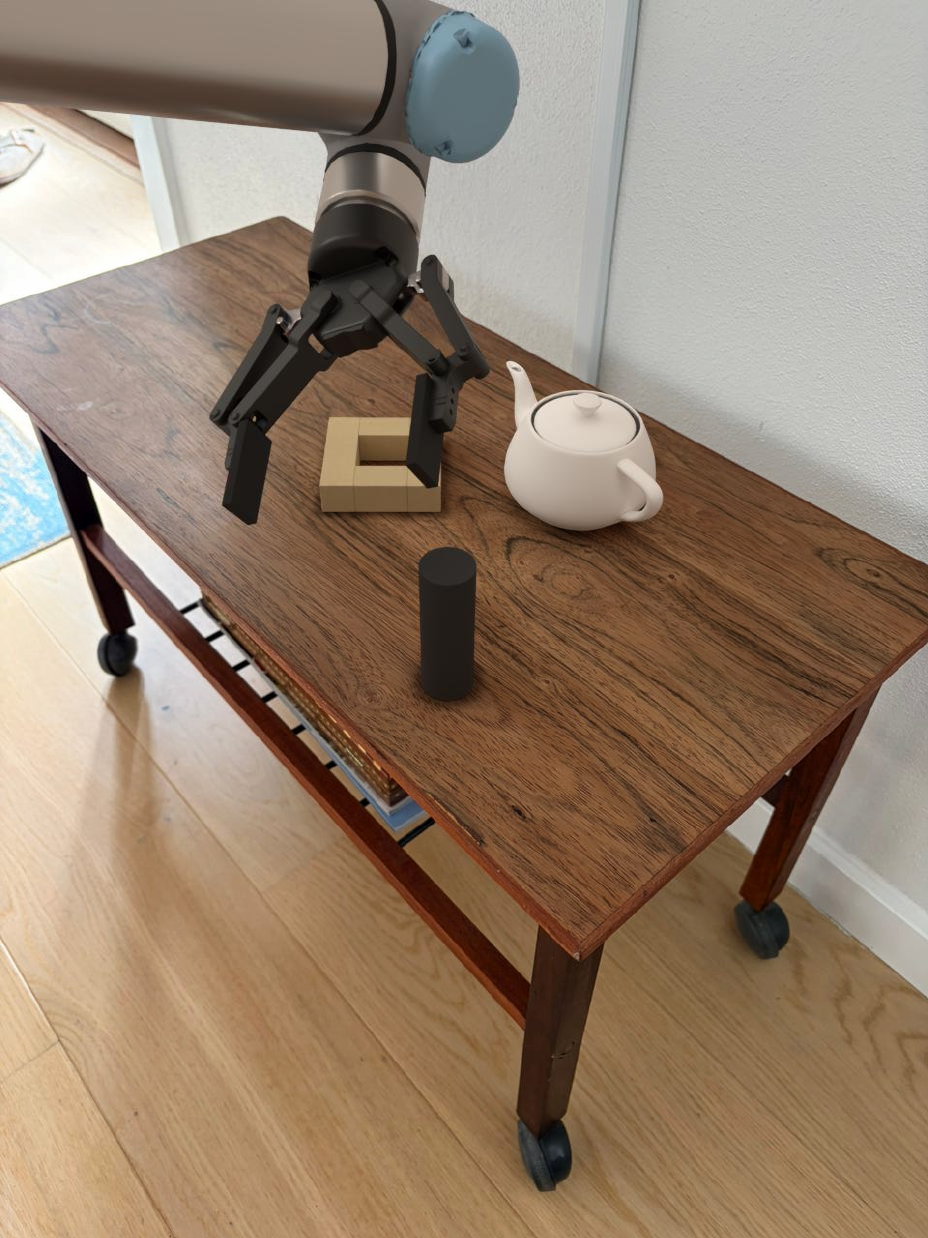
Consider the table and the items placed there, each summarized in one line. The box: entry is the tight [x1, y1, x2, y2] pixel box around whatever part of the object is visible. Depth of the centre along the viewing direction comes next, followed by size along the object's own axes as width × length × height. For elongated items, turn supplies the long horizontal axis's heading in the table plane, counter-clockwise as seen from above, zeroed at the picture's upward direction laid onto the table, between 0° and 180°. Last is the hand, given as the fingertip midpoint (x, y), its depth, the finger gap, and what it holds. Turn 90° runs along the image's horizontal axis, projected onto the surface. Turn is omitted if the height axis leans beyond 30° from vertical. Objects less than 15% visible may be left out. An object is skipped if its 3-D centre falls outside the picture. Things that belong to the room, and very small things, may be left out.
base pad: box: [318, 416, 442, 513], centre depth 96 cm, size 11×11×3 cm
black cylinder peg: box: [417, 546, 478, 702], centre depth 74 cm, size 4×4×12 cm
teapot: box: [503, 360, 664, 532], centre depth 91 cm, size 22×14×11 cm, turn 33°
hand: (326, 496), depth 63 cm, fingers open, 13 cm apart
